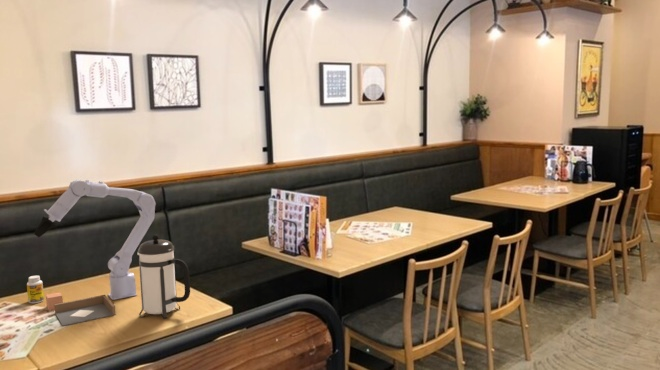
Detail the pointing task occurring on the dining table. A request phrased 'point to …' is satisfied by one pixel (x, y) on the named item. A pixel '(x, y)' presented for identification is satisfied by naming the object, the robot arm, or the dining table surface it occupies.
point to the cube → (53, 300)
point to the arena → (84, 310)
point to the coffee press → (160, 277)
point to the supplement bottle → (35, 290)
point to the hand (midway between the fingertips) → (36, 234)
